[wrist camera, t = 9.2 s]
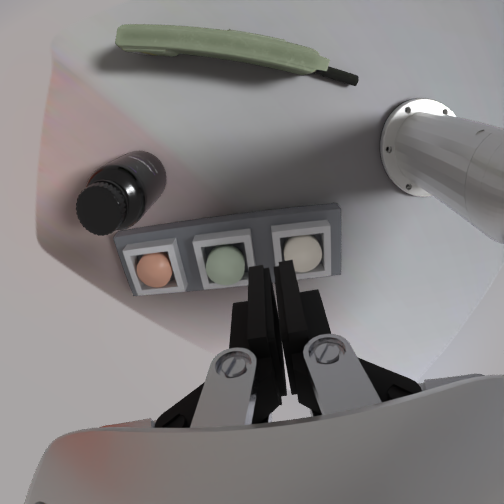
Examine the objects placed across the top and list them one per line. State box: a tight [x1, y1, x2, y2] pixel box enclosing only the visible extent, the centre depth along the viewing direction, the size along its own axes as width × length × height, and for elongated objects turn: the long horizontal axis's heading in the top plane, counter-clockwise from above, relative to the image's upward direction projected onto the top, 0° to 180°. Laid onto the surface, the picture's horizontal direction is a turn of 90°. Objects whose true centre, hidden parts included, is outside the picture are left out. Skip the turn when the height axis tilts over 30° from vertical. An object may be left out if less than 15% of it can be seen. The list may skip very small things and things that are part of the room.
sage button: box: [206, 244, 245, 285], centre depth 37 cm, size 4×4×2 cm
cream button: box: [283, 234, 322, 272], centre depth 37 cm, size 4×4×2 cm
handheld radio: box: [115, 24, 358, 86], centre depth 27 cm, size 7×3×25 cm
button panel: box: [113, 203, 341, 296], centre depth 39 cm, size 28×9×4 cm, turn 97°
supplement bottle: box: [76, 151, 166, 236], centre depth 31 cm, size 7×7×12 cm
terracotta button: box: [137, 252, 173, 288], centre depth 38 cm, size 4×4×2 cm
